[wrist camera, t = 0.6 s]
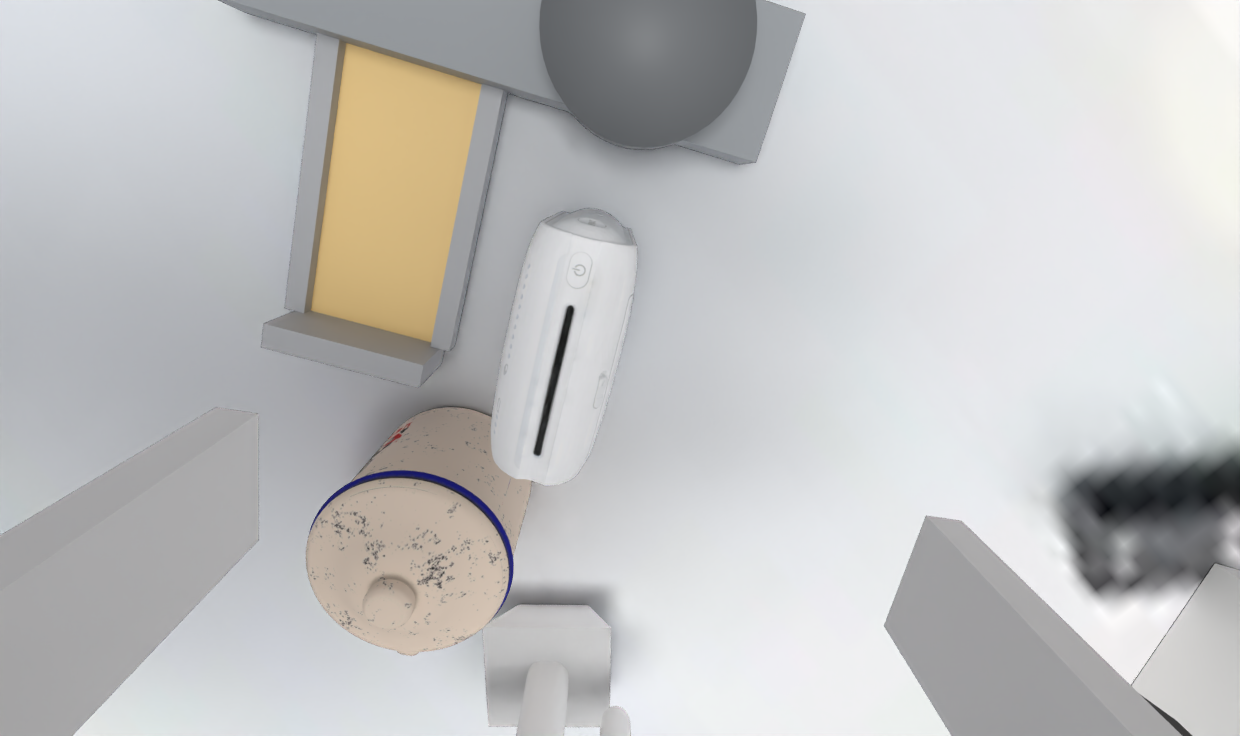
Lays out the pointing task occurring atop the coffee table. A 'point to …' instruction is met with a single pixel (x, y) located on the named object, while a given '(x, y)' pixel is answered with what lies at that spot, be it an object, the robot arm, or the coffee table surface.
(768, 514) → the coffee table surface
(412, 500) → the teacup with lid
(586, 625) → the figurine
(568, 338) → the photo printer
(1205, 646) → the box
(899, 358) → the coffee table surface
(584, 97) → the deck
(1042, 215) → the coffee table surface
